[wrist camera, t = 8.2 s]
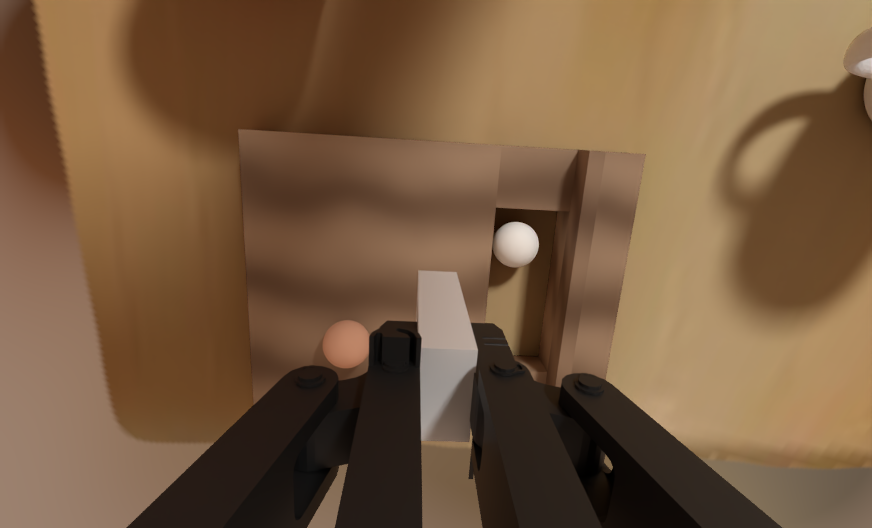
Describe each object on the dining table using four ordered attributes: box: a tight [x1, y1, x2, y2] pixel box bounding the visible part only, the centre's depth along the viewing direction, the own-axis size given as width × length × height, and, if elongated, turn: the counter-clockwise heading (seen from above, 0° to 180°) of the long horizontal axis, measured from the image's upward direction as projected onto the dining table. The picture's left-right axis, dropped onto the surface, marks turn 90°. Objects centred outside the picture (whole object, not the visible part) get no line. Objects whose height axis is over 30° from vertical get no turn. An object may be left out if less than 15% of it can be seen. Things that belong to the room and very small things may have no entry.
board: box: [238, 129, 646, 404], centre depth 31 cm, size 20×26×4 cm
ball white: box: [492, 222, 539, 267], centre depth 31 cm, size 3×3×3 cm
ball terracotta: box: [323, 320, 370, 368], centre depth 30 cm, size 3×3×3 cm
